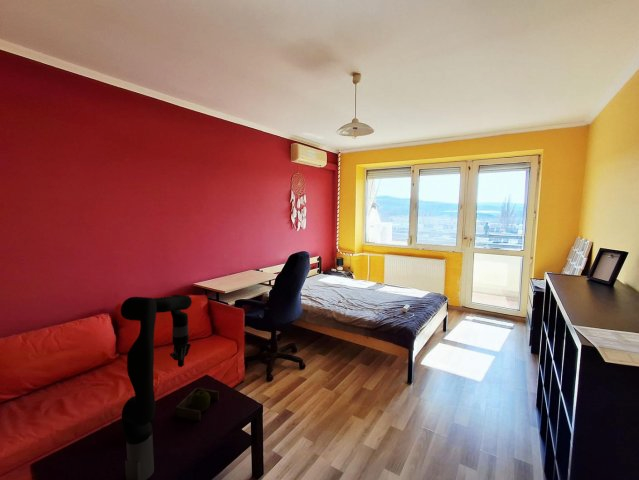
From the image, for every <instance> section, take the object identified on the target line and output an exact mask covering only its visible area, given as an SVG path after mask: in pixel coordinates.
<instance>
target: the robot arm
mask: <svg viewBox="0 0 639 480" xmlns="http://www.w3.org/2000/svg"><path fill="white" fill-rule="evenodd" d="M192 303H193V300H192V298H191V296H189V295H187V294H186V295H185V294H173V295H167V296H161V297H153V298H152V297H146V296H145V297H144V296H131V297H128V298H125V300H124V301H123V303H122V304H121V306H120V315H121V317H122V318H123V319H125V320H128V321H135V322H136V321H137V322H140V323H139V324H140V325H139V326H140V328H139V334H138V336H137V337H136V339H135V341H134V342H133V344H132V345H131V347H129V350H128V352H127V355H126V370H127V371H126V372H127V377H128V378H129V381H130V383H131V386H132V388H133V391H134V395H133V396H131V397H130V398H129V399H128V400H127V401H126V402H125V403H124V405H123V407H122V411H121V423H122V431H123V435H124V437H125V443H126V459H125V461H124V465H125V467H124V469H125V480H148V479H150V478H151V477H152V475H153V473H154V471H155V460H154V459H155V458H154V438H153V437H154V435H153V426H152V425H151V423H150V421H151V419H152V418H153V416H154V417H155V412H156V397H155V387H154V377H155V376H154V365H155V362H154V361H155V351H154V349H155V347H154V344H155V342H154V341H155V327H156V321H157V314H158V313H168V312H170V314H171V318H172V328H171V329H172V330H171V331H172V332H171V333H172V335H171V337H172V344H173V352H170V353H169V356H170V357H171V358H172V359H173V360H174V361H177V366H178V367H179V368H182V367H184V365H185V358H186V357H187V356H188V354H189V351H190V349H191V343H189V340H190V339H189V336H190V332H189V315H188V314H187V313H186V312H184V311H185V310H188V309H189V308H190V307H191V305H192Z"/></svg>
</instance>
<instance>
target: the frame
mask: <svg viewBox="0 0 639 480" xmlns="http://www.w3.org/2000/svg"><path fill="white" fill-rule="evenodd" d="M202 390H203V391H206V392H208V393H209V395H210V400H214V401H219V400H220V398H219V397H220V396H219V393H220V392H219V390H213V389H207V388H203V387H195V388H194V389H193V390H192V391H191V392H190V393H189V394H188V395H187V396H185V398H184V399H182V401H181V402H179V403H178V404H177V405H176V406H175V411H174V412H175V417H179V418H183V419H189V420H193V421H200V422H201V419H202V414H201V413H202V412H201V411H200V410H195V409H193V408H189V406H190V405H191V400H192V398H193V396H194V395H195V394H196V393H197V392H198V391H202Z"/></svg>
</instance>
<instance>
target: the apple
mask: <svg viewBox="0 0 639 480" xmlns="http://www.w3.org/2000/svg"><path fill="white" fill-rule="evenodd" d="M210 404H211V399H210V395H209V393H208V392H206V391H203V390H202V391H198V392H197V393H196V394H195V395H194V396H193V398H192V400H191V403H190V405H191V407H192V408H191V409H195V410H200V411H201V413H203V412H204V411H206V410H208V408H209V406H210Z"/></svg>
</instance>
